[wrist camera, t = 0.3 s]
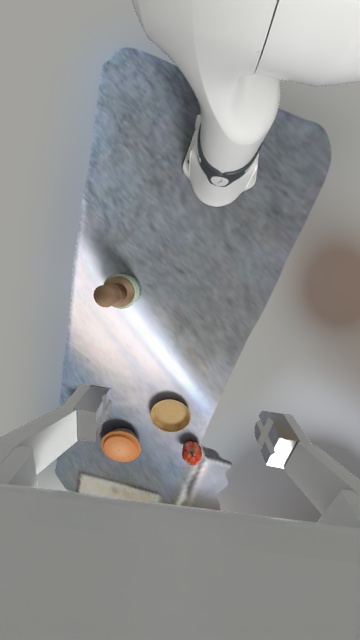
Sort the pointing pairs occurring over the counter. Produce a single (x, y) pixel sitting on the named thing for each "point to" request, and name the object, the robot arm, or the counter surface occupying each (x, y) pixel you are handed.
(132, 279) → the canister
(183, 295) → the counter surface
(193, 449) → the pomegranate
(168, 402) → the plant saucer
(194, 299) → the counter surface
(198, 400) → the counter surface
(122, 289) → the lid
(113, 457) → the pie
